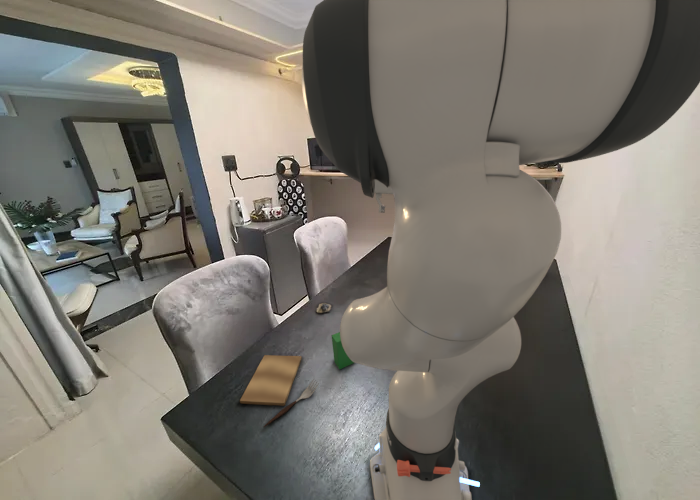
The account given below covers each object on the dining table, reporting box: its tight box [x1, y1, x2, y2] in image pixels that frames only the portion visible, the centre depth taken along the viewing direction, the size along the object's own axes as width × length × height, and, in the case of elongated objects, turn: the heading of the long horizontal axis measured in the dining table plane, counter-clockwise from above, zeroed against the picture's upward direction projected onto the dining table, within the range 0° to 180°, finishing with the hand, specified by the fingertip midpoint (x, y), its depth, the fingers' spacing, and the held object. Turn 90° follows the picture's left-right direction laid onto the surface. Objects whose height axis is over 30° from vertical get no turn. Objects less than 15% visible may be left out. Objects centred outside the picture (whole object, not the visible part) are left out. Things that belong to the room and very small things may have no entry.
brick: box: [331, 331, 355, 371], centre depth 77 cm, size 5×4×10 cm
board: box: [239, 354, 303, 407], centre depth 75 cm, size 16×12×1 cm
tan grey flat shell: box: [315, 302, 333, 314], centre depth 106 cm, size 7×8×2 cm
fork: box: [262, 378, 320, 429], centre depth 66 cm, size 3×16×2 cm, turn 135°
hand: (400, 213), depth 65 cm, fingers open, 8 cm apart
